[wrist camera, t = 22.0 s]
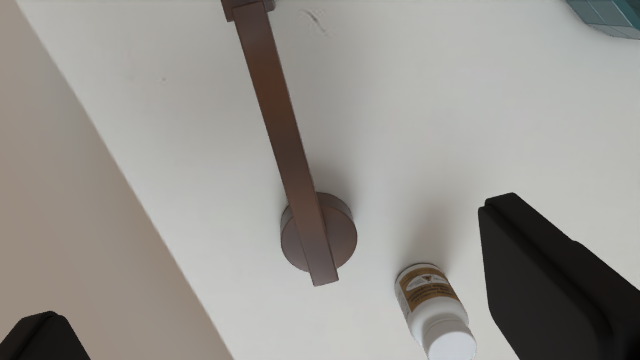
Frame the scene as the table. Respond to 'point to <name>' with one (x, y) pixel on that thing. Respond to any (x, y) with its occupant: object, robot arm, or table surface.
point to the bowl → (610, 16)
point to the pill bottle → (434, 314)
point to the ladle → (292, 155)
